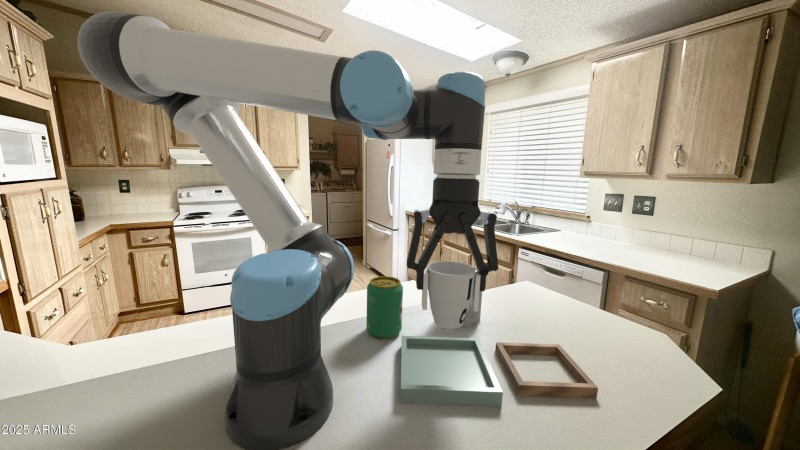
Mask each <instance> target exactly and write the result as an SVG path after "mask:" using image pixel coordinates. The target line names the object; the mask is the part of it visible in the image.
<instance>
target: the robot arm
mask: <svg viewBox="0 0 800 450" xmlns="http://www.w3.org/2000/svg"><path fill="white" fill-rule="evenodd" d="M77 49H78V50H77V51H78V53H79V57H80V59H81V61H82V63H83V66H84V67H85V68H86V70H87V71H88V72H89V74H91V76H92V77H93V78H94V79H95V80H96V81H97V82H98V83H99V84H101V85H102V86H103V87H105V88H106V89H108V90H109V91H111V92H113V93H115V94H116V95H119V96H120V97H123V98H126V99H129V100H132V101H134V102H139V103H143V104H148V105H151V106H156V107H159V108H161V110H163V112H165V114H166V116H167V117H168V119H169V120H170V122H171V123H172V124H173V126H174V128H175V129H176V131H177V130H178V132H180V133H182V134H186V135H191V136H192V137H193V139H194V141H195V142H196V143H197V145H198V146H199V147H200V150H201V151H202V152H203V153H204V155H205V157H206V158H207V159H208V161H209V162H210V165H212V167H213V168H214V169H215V171H216V173H217V174H218V176H219V177H220V179H221V181H222V182H223V183H224V185H225V187H226V188H228V191H229V192H230V194H231V195H232V196H233V197H234V199H235V200H236V203H238V205H239V207H240V208H241V210H242V211H243V212H244V214H245V215H246V217H247V219H248V220H249V222H250V223H251V224H252V226H253V227H254V229H255V230H256V231H257V233H258V234H259V236H260V237H261V239H262V241H263V242H264V243H265V245H266V247H267V252H265V253H259V254H257V255H254V256H252V257H250V258H247V259H246V260H244V261H243V262H241V263H240V264H239V265H238V266H237V268H236V269H235V271H234V272H233V273H232V277H231V292H230V296H229V303H230V306H231V309H232V310H231V311H232V321H233V324H232V325H233V339H234V351H235V365H236V367H235V368H236V372H235V375H234V378H233V381H232V384H231V389H230V392H229V395H228V398H227V401H226V405H225V410H224V412H225V413H224V415H225V417H224V418H225V430H226V433H227V435H228V437H229V439H230V440H231V441H232V442H233V443H234V444H236V445H237V446H239V447H241V448H244V449H246V450H282V449H284V448H288V447H291V446H293V445H296V444H298V443H300V442H301V441H304V440H305V439H307V438H308V437H309V438H310V436H312V435H313V434H315V432H317V431H318V430H319V429H321V427H322V426H323V425H324V424H325V423H326V421H327V420H328V418H329V416H330V415H331V412H332V410H333V406H334V385H333V382H332V379H331V377H330V375H329V372H328V370H327V367H326V364H325V362H324V360H323V357H322V338H321V337H322V330H321V327H322V325H321V324H322V320H323V318H324V317H325V316H326V315H327V313H328V312H329V311H330V310H331V309H332V307H333V306H334V305H335V304H336V303H337V301H338V300H339V299H341V298H342V297H343V296H344V295H345V293H347V291H348V289H349V287H350V285H351V283H352V281H353V278H354V274H355V263H354V258H353V255H352V253H351V251H350V250H349V248H348V247H347V246H346V245H345V244H343V242H340V241H339V240H336V239H333V238H331V237H330V236H329V234H328V232H327V231H326V230H325V228H324V226H323V225H322V224H319V223H314V222H312V221H310V220H309V218H308V217H307V216H306V214H305V213H304V211H303V209H302V208H301V207H300V205H299V204H298V202H297V201H296V199H295V198H294V196H293V195H292V193H291V192H290V190H289V189H288V187H287V185H286V184H285V183H284V181H283V179H282V178H281V177H280V175H279V173H278V171H276V169H275V167H274V166H273V164H272V163H271V162H270V160H269V159H268V157H267V156H266V154H265V152H264V150H263V149H262V148H261V147H260V145H259V144H258V142H257V141H256V139H255V138H254V136H253V134H252V133H251V132H250V130H249V128H248V127H247V126H246V124H245V123H244V121H243V120H242V118H241V117H240V115H239V113H240V109H241V104H242V105H250V106H253V107H254V106H255V107H261V108H266V109H271V110H276V111H277V110H278V111H282V112H289V113H295V114H299V115H305V116H310V117H317V118H321V119H326V120H327V119H328V120H334V121H339V122H343V123H346V124H353V125H358V126H360V128H361V130H362V133H363V135H364V136H365V137H366V138H369V139H377V140H383V141H386V140H387V141H388V140H434V144H435V145H434V152H433V153H434V154H433V155H434V157H433V174H434V175H436V177H434V179H433V181H432V198H431V199H432V203H431V205H430V207H429V208H428V209H423V210H420V209H415V210H413V219H414V220H413V221H414V225H413V230H412V235H411V239H410V244H409V249H408V254H407V258H406V267H407V268H408V269H410V270H413V271H415V272H416V279H415V280H416V281H415V282H416V283H415V285H416V286H415V287H416V289H417V290H419V291H420V290H421V306H422V307H421V308H422V309H421V310H422V311H424V310H426V311H427V310H428V297H429V291H428V268H427V267H428V265H429V262H430V260H431V258H432V256H433V254H434V252H435V250H436V248H437V247H438V244H439V242H440V241H441V239H442V238H443V236H444V234H453V233H455V234H459V235H464V238H465V240H466V242H467V245H468V248H469V251H470V252H471V256H472V259H473V261H474V263H475V266H476V268H477V269H478V271H477V270H475V277H474V285H473V293H472V297H471V302H470V305H471V307H472V309H473V311H478V304H479V291H482V292H485V290H486V285H487V284H486V283H487V276H488V275H489V272H497V271H498V270H499V261H498V260H499V259H498V251H497V250H498V249H497V242H496V241H497V239H496V231H495V226H496V223H497V218H498V217H497V214H496V213H494V212H492V211H484V210H481V209H480V207H479V195H480V194H479V193H480V180H479V179H478V178H477V176H479V175H480V174H481V167H482V165H481V163H482V149H483V136H484V124H485V113H486V83H485V79H484V78H483V77H482V76H481V75H480V74H477V73H474V72H470V71H455V72H453V73H445V74H443V75H441V76H440V77H439V78H438V80H437V85H436V87H435V88H436V89H435V88H434V89H427V90H426V89H425V90H423V89H422V90H420V89H413V85H412V82H411V81H412V80H411V79H410V77H409V75H408V73H407V71H406V70H405V69H404V67H403V66H402V65H401V64H400V62H399V61H398V60H397V59H395V58H394V56H392V55H390V54H389V53H387V52H385V51H380V50H377V49H375V50H366V51H363V52H360V53H359V54H357V55H354V56H353V57H348V56H341V55H340V56H339V55H334V54H329V53H321V52H314V51H310V50H309V51H308V50H303V49H297V48H290V47H285V46H278V45H271V44H266V43H260V42H253V41H248V40H241V39H234V38H228V37H223V36H216V35H211V34H204V33H199V32H193V31H186V30H180V29H174V28H170V27H169V26H168V25H167V24H166V23H164V22H163V20H162V21H161V20H160V19H158V18H156V17H153V16H149V15H143V14H136V13H132V12H130V13H129V12H123V11H118V10H117V11H116V10H114V11H113V10H107V11H101V12H98V13H95V14H94V15H92V16H90V17H89V18H87V19H86V20H85V21H84V22H83V23H82V25H81V27H80V29H79V30H78V35H77ZM429 217H431V219H432V221H433V222H434V223H435V226H434V229H433V230H432V233H431V235H430V238H429V239H428V242H427V244H426V245H425V247H424V249H423V251H422V253H421V255H420V258H419V259H418V260H416V258H417V254H418V249H419V245H420V244H419V243H420V240H421V236H422V231H423V224H425V223H426V222H427V220H428V218H429ZM479 218H480V223H481V224H483V235H484V243H485V254H486V262H485V260H484V257H483V255H482V253H481V249H480V247H479V243H478V241H477V240H476V236H475V235H476V234H475V233H474V230H473V225H475V222H476V221H477V220H478V219H479Z"/></svg>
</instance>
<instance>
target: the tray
mask: <svg viewBox="0 0 800 450" xmlns="http://www.w3.org/2000/svg"><path fill="white" fill-rule="evenodd" d="M400 345H401V346H400V347H401V349H400V352H401V353H400V355H401V356H400V357H401V358H400V359H401V360H400V403H402V404H427V405H451V406H452V405H455V406H456V405H457V406H459V405H460V406H480V407H481V406H482V407H486V406H487V407H488V406H489V407H502V405H503V403H502V402H503V397H504V396H503V394H504V392H503V389H502V386H501V385H500V382H499V380H498V378H497V375H496V374H495V372H494V369H493V366H492V365H491V363H490V360H489V358H488V355H487V353H486V352H485V349H484V346H483V344H482V342H481V340H480V338H479V337H454V336H453V337H452V336H451V337H449V336H428V335H427V336H424V335H401V343H400Z"/></svg>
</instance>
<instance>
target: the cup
mask: <svg viewBox="0 0 800 450" xmlns="http://www.w3.org/2000/svg"><path fill="white" fill-rule="evenodd" d="M475 268H476V267H475V266H473V265H471V264H467V263H464V262H460V261H454V260H453V261H452V260H442V261H435V262H431V263H428V264H427V270H428V297H429V305H430V310H431V311H430V312H431V315H432V317H433V321H434V323H435V324H436V325H437V326H438V327H440V328H443V329H450V330H451V329H458V328H462V327H461V326H462V324H463V322H464V320H465V317H466V315H467V312H468V309H469V305H470V301H471V297H472V293H473V285H474V277H475Z"/></svg>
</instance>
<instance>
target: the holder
mask: <svg viewBox="0 0 800 450" xmlns="http://www.w3.org/2000/svg"><path fill="white" fill-rule="evenodd" d="M495 355H496V356H497V357H498V359H499V361H500V363H501V365H502V367H503V370H504V371H505V374H506V375H507V377H508V380H509V381H510V383H511V386H512V387H513V389H514V391H515V393H516V395H517V396H518V397H522V396H523V397H542V398H543V397H544V398H565V399H566V398H567V399H568V398H571V399H595V400H596V399H597V397H598V393H599V392H598V391H599V387H598V386H597V385H596V384H595V383H594V381H593V380H592V379H591V378H590V377H589V376H588V375H587V373H586V372H585V371H584V370H583V369H582V368H581V367H580V366H579V365H578V363H577V362H575V360H574V359H573V358H572V357H571V356H570V355H569V354H568V352H567V351H566V350H565V349H564V348H563V347H562V346H561V344H558V343H557V344H556V343H555V344H554V343H529V342H527V343H526V342H499V341H498V342H495ZM509 355H514V356H516V355H517V356H522V355H523V356H545V357H548V356H549V357H556V359H558V361H559V362H560V363H561V365H562V366H563V367H564V368H565V369H566V371H568V373H569V375H571V376H572V377H573V379H574V380H575V381H576V382H558V381H557V382H555V381H527V380H526V381H525V380H523V379H522V377H521V376H520V372H518V370H517V368H516V366H515V364H514V363H513V361H512V360H511V358H510V356H509Z"/></svg>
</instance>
